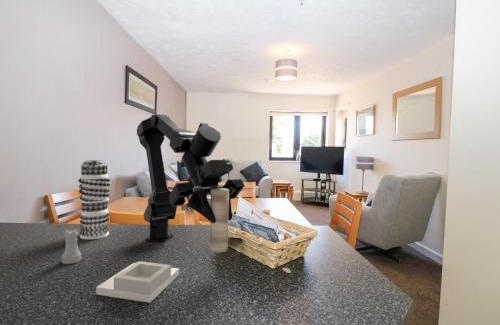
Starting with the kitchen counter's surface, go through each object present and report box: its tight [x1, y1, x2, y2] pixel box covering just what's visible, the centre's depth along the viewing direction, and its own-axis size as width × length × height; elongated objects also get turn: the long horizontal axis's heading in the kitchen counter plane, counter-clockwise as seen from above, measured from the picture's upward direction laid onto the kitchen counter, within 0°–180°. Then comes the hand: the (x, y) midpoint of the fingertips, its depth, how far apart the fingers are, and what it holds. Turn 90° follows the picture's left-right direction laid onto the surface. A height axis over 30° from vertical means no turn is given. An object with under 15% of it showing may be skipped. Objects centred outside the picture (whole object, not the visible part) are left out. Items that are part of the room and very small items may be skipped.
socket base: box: [95, 260, 180, 303], centre depth 59 cm, size 12×12×4 cm
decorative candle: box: [78, 159, 111, 240], centre depth 90 cm, size 9×9×25 cm
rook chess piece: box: [60, 228, 83, 265], centre depth 70 cm, size 4×4×8 cm
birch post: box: [209, 188, 229, 253], centre depth 63 cm, size 4×4×14 cm
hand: (222, 220), depth 62 cm, fingers closed on birch post, 4 cm apart
